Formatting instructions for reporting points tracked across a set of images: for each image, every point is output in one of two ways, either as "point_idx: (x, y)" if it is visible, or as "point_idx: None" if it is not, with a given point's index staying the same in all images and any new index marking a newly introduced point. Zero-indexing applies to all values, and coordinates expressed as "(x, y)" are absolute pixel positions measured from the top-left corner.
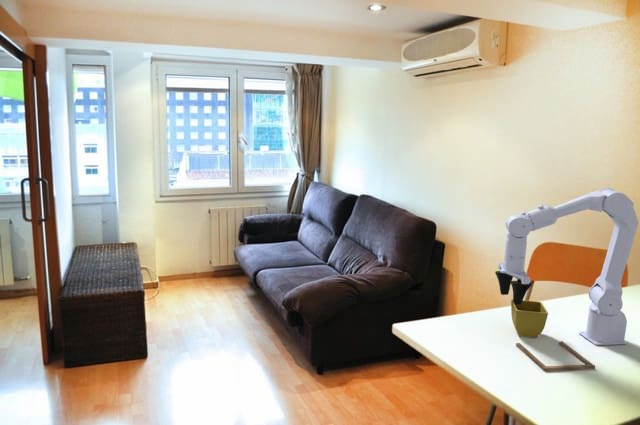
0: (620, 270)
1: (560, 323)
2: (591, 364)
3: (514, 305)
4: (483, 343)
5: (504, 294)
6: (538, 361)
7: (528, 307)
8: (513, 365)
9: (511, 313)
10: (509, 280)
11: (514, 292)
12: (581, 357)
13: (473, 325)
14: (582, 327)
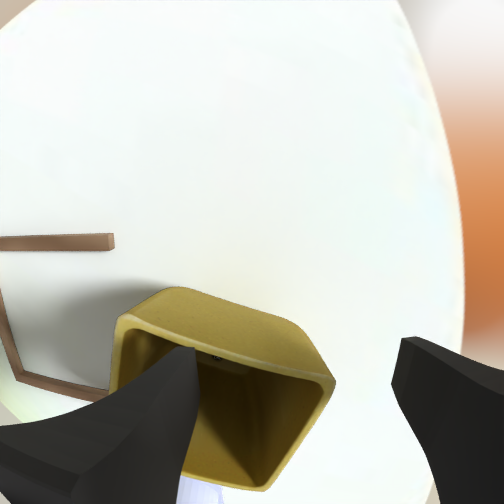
0: None
1: (298, 467)
2: (20, 378)
3: (215, 350)
4: (143, 98)
5: (397, 359)
6: (2, 243)
7: (278, 430)
8: (6, 158)
9: (298, 331)
10: (444, 470)
11: (113, 399)
12: (46, 385)
13: (335, 130)
14: (261, 493)
